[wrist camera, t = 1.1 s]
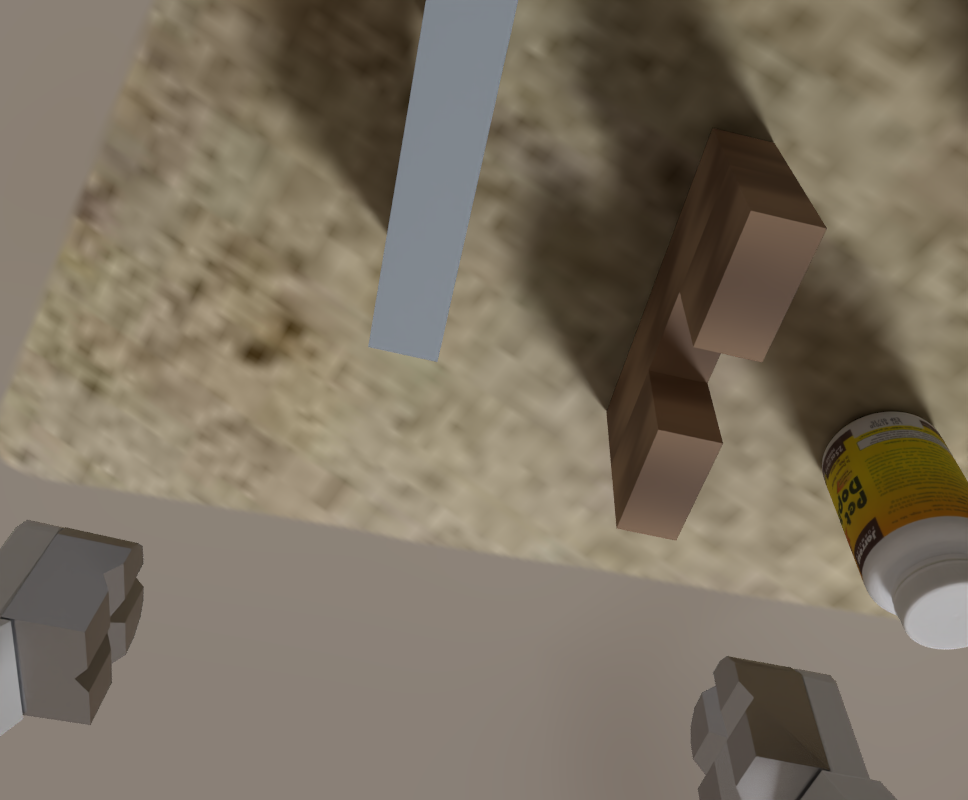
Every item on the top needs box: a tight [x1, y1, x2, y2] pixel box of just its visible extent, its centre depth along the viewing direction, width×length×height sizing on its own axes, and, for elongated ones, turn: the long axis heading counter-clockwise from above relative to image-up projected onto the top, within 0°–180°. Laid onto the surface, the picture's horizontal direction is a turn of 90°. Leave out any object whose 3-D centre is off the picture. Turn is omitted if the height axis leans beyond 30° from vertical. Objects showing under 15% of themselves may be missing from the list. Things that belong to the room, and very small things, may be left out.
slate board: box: [368, 0, 518, 362], centre depth 31 cm, size 14×2×8 cm, turn 168°
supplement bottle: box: [822, 412, 968, 649], centre depth 38 cm, size 6×6×10 cm
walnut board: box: [607, 128, 827, 540], centre depth 35 cm, size 14×2×8 cm, turn 168°
